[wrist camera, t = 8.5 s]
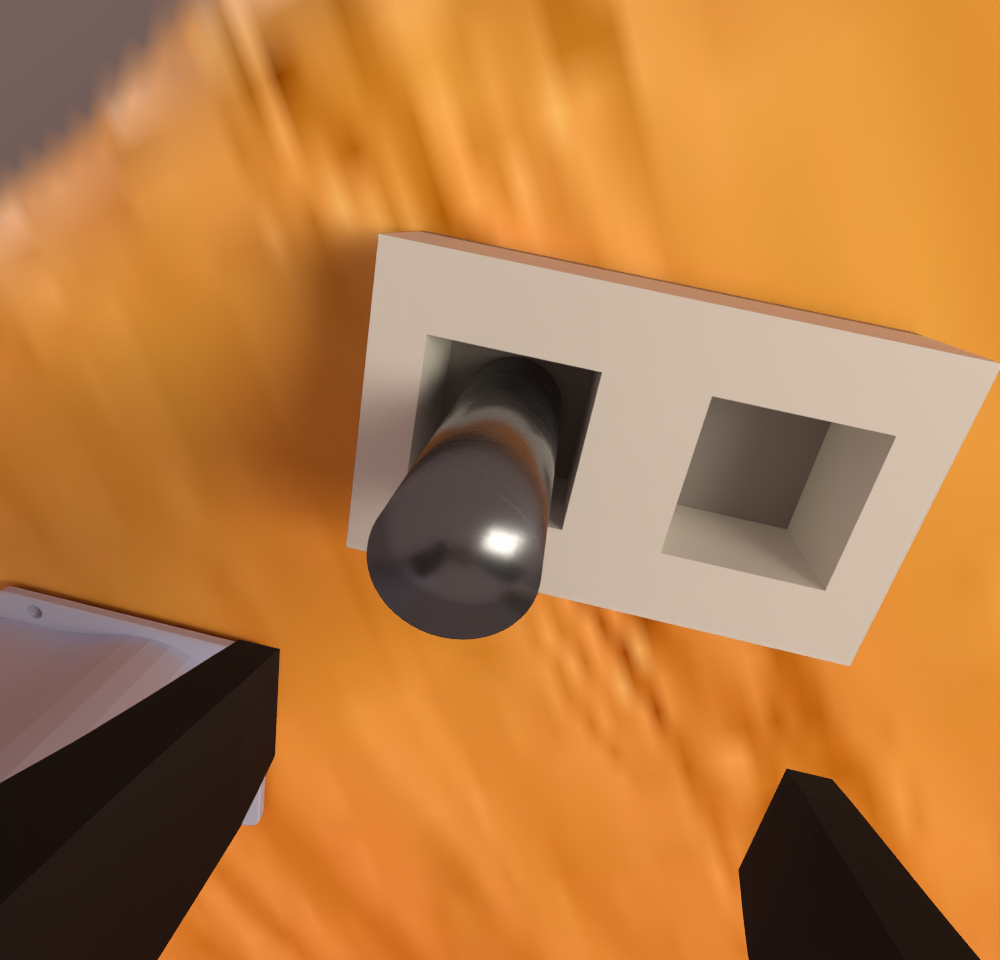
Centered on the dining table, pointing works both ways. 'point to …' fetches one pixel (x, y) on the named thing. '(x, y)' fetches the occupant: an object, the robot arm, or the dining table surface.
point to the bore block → (679, 435)
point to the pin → (474, 508)
